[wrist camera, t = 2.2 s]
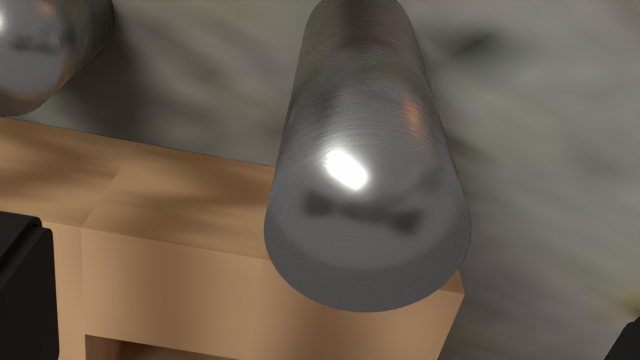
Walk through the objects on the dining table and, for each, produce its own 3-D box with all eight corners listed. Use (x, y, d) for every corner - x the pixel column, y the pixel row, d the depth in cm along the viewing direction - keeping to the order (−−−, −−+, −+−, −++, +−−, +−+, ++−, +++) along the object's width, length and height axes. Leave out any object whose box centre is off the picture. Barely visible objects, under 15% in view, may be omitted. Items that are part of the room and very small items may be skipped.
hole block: (441, 198, 25) (465, 294, 20) (358, 427, 33) (360, 536, 28) (-35, 110, 24) (-140, 189, 19) (4, 371, 32) (-62, 475, 27)
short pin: (114, -37, 20) (52, 0, 16) (114, 69, 23) (59, 126, 18) (-1, -60, 20) (-95, -29, 16) (9, 49, 22) (-71, 103, 18)
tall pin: (425, -2, 21) (501, 168, 10) (396, 100, 23) (436, 326, 12) (314, -25, 20) (280, 126, 10) (295, 80, 22) (251, 294, 12)
